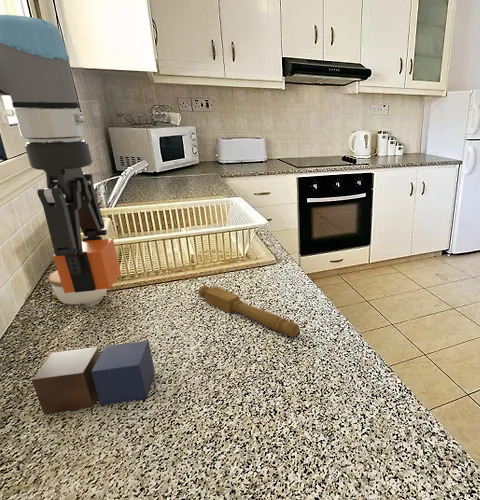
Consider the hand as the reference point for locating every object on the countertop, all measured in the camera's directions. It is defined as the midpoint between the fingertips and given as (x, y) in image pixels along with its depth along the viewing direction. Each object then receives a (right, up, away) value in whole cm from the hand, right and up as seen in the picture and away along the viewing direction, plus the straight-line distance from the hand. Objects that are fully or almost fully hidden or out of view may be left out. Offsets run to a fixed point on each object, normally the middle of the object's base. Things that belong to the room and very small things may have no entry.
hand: (93, 280), depth 63 cm
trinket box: (-18, -7, +24) cm, 30 cm away
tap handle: (+20, -9, +20) cm, 30 cm away
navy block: (+7, -18, -2) cm, 19 cm away
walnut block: (0, -18, -4) cm, 18 cm away
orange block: (0, 0, 0) cm, 0 cm away
